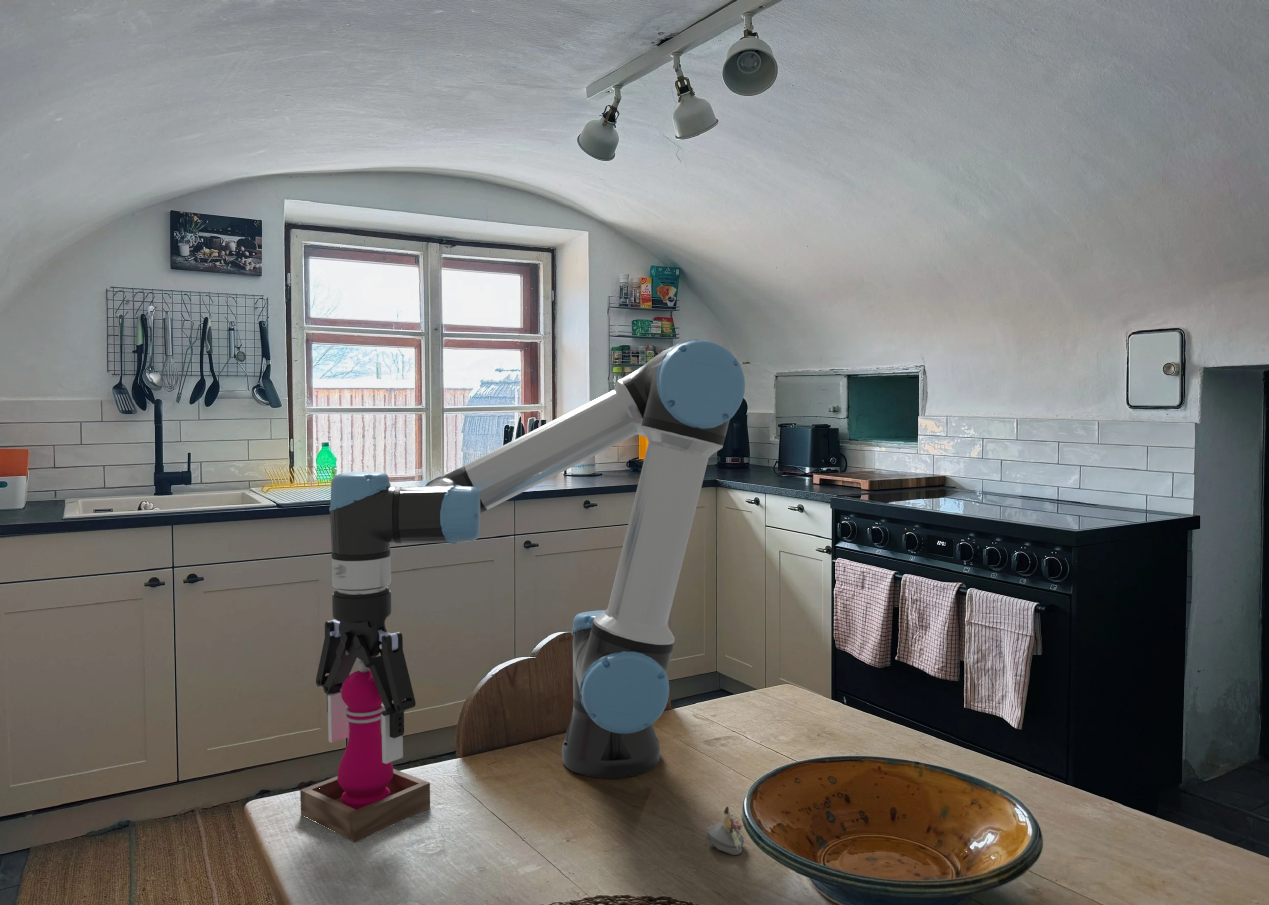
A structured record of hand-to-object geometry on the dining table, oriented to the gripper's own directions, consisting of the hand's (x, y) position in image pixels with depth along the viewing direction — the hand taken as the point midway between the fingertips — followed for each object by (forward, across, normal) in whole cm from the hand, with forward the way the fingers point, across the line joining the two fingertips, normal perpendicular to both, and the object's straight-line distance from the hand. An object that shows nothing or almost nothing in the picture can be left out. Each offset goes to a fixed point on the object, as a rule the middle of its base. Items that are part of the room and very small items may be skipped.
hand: (364, 749), depth 121 cm
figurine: (+9, +44, +21) cm, 50 cm away
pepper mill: (+8, 0, 0) cm, 8 cm away
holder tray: (+9, 0, 0) cm, 9 cm away
